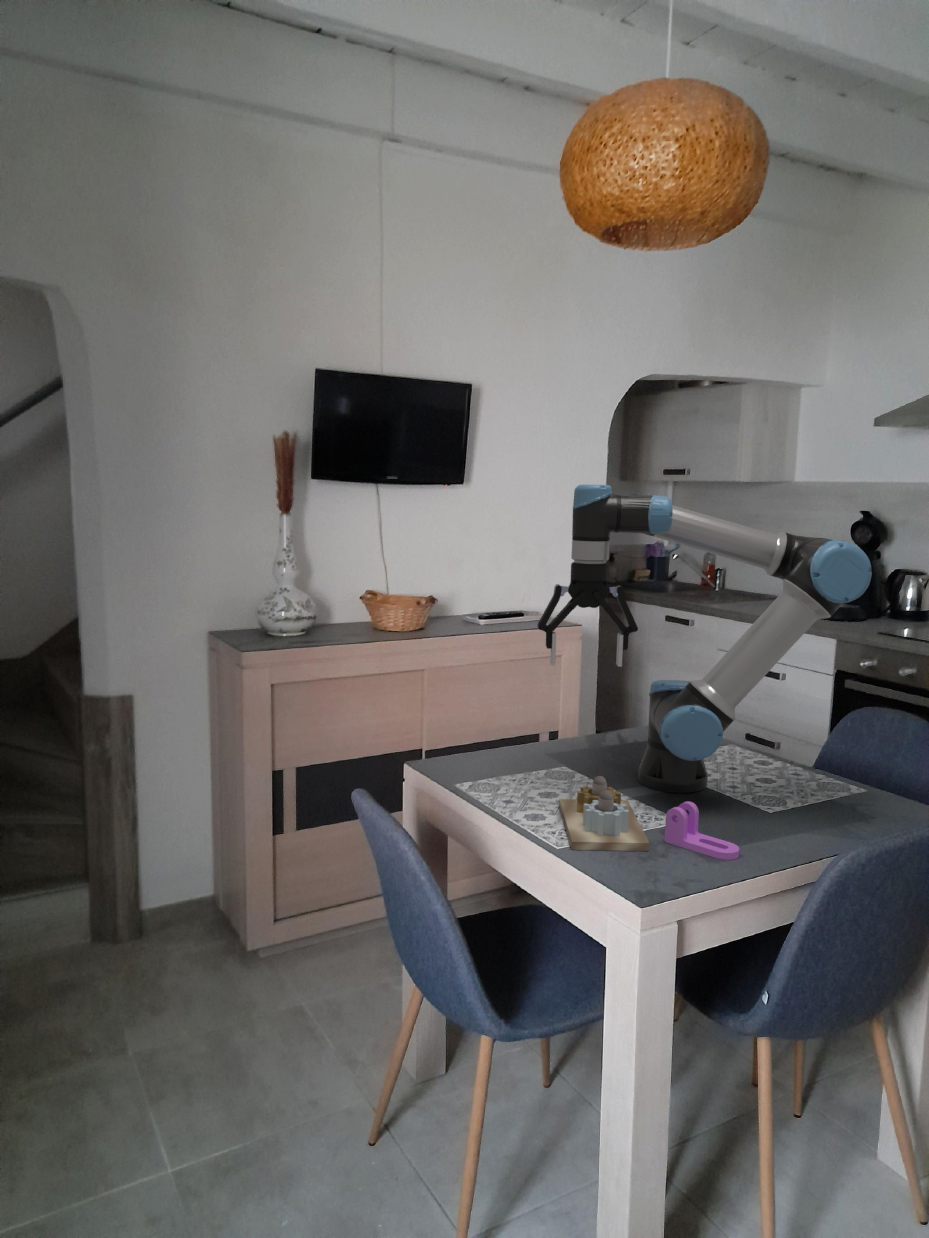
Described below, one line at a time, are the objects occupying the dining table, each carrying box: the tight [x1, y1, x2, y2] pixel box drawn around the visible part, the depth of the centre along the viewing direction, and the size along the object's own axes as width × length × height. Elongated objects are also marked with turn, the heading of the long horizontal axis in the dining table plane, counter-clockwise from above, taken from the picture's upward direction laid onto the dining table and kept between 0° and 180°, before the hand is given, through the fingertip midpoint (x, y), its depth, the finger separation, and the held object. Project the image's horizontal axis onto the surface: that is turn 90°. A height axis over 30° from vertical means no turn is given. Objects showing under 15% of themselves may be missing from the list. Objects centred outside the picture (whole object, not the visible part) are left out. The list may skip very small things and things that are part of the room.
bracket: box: [664, 801, 740, 861], centre depth 161 cm, size 13×6×7 cm, turn 47°
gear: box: [583, 800, 629, 836], centre depth 166 cm, size 8×8×4 cm
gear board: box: [558, 775, 651, 852], centre depth 170 cm, size 14×22×9 cm, turn 0°
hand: (585, 665), depth 182 cm, fingers open, 13 cm apart
